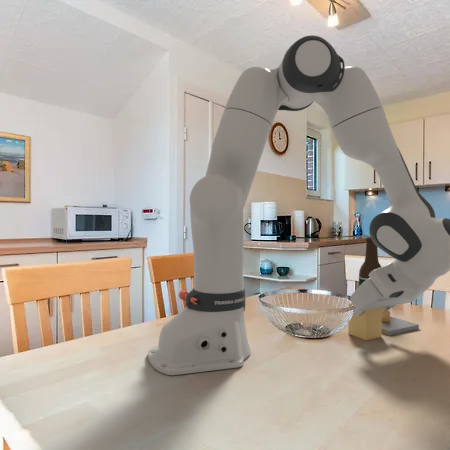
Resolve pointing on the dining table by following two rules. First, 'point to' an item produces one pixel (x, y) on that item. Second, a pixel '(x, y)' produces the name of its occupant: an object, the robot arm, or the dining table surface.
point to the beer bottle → (369, 261)
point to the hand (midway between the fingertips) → (369, 311)
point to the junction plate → (396, 325)
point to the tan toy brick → (366, 324)
